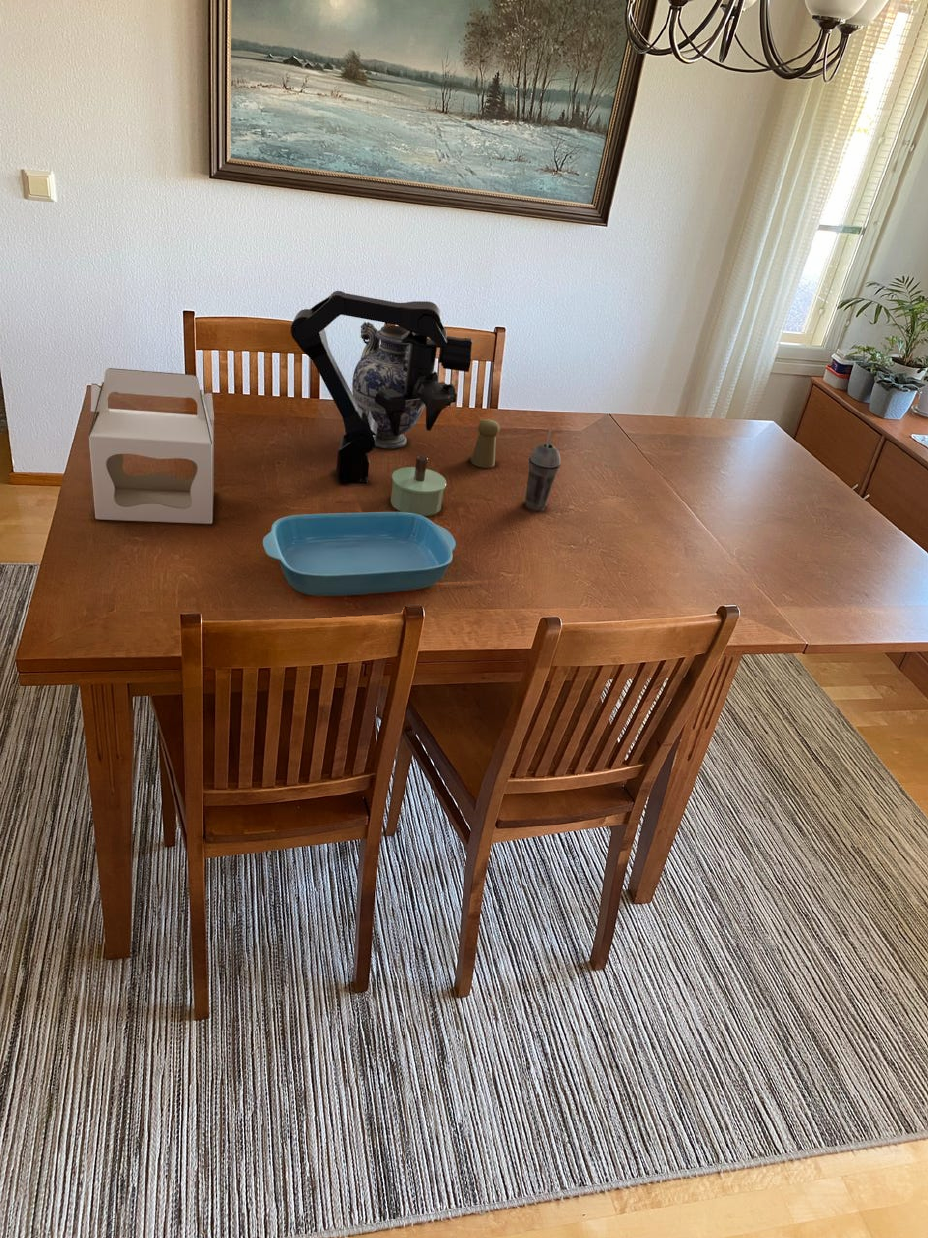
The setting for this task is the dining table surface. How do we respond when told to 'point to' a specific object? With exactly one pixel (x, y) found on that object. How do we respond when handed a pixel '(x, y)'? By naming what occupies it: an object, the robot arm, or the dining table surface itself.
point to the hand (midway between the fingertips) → (412, 432)
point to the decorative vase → (384, 380)
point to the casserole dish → (359, 552)
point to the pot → (416, 501)
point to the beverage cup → (541, 474)
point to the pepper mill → (485, 444)
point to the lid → (419, 478)
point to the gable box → (151, 450)
